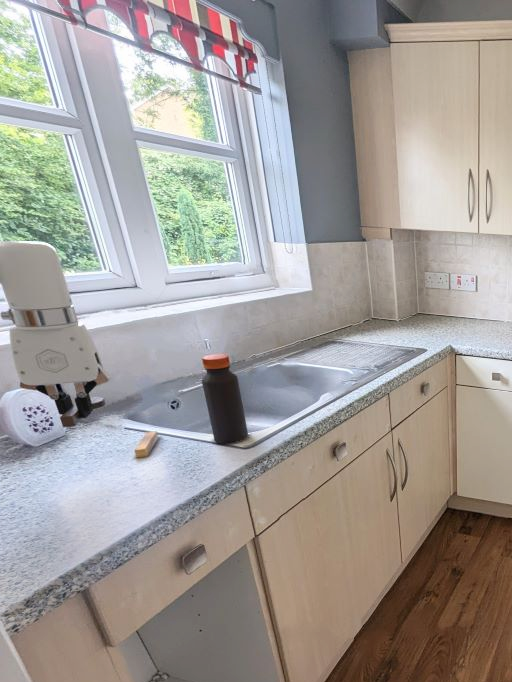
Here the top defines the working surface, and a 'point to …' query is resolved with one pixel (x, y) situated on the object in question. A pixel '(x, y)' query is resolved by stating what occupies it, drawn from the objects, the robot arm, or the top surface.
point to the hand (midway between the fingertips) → (78, 415)
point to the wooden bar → (146, 444)
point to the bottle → (223, 400)
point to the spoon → (73, 414)
